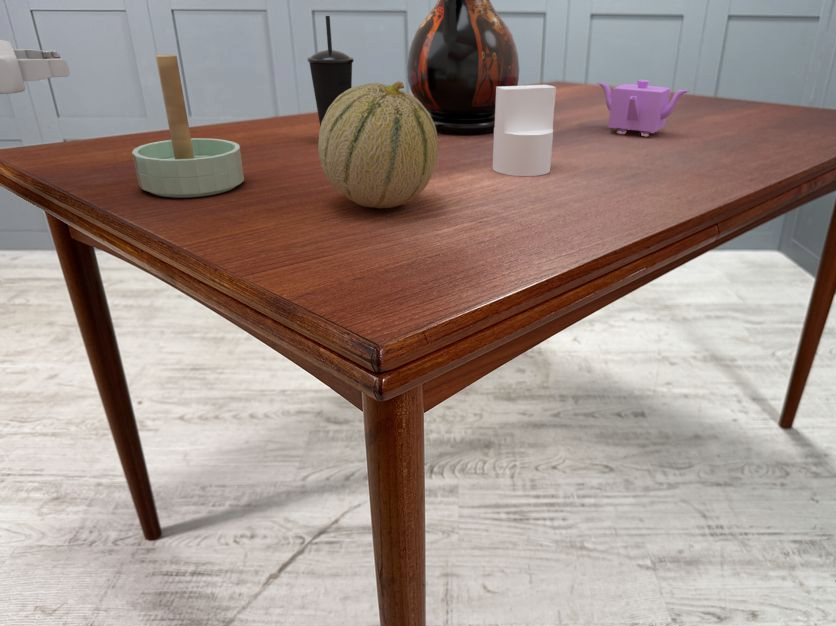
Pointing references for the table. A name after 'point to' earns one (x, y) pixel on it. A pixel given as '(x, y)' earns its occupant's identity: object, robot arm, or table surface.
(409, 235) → the table surface
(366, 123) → the cantaloupe
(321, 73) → the drinking cup
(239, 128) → the table surface
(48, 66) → the robot arm
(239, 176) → the bowl
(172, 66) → the stirring stick
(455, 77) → the amphora vase
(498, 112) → the base with upright slab
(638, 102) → the teapot
